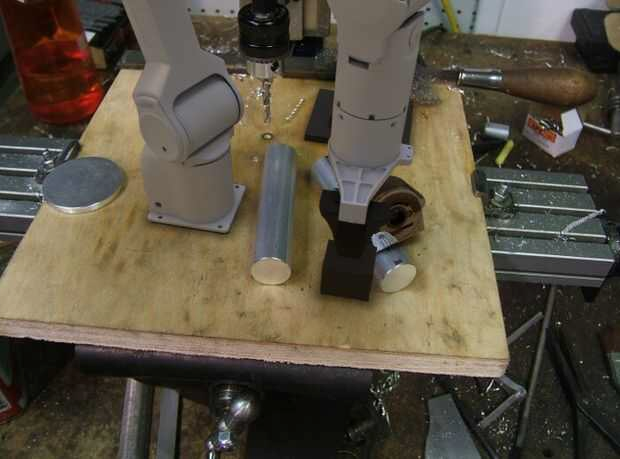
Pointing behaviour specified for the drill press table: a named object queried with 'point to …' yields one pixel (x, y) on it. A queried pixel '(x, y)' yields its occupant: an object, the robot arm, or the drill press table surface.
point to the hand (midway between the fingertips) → (354, 225)
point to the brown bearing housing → (401, 208)
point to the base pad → (323, 115)
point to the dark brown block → (347, 273)
